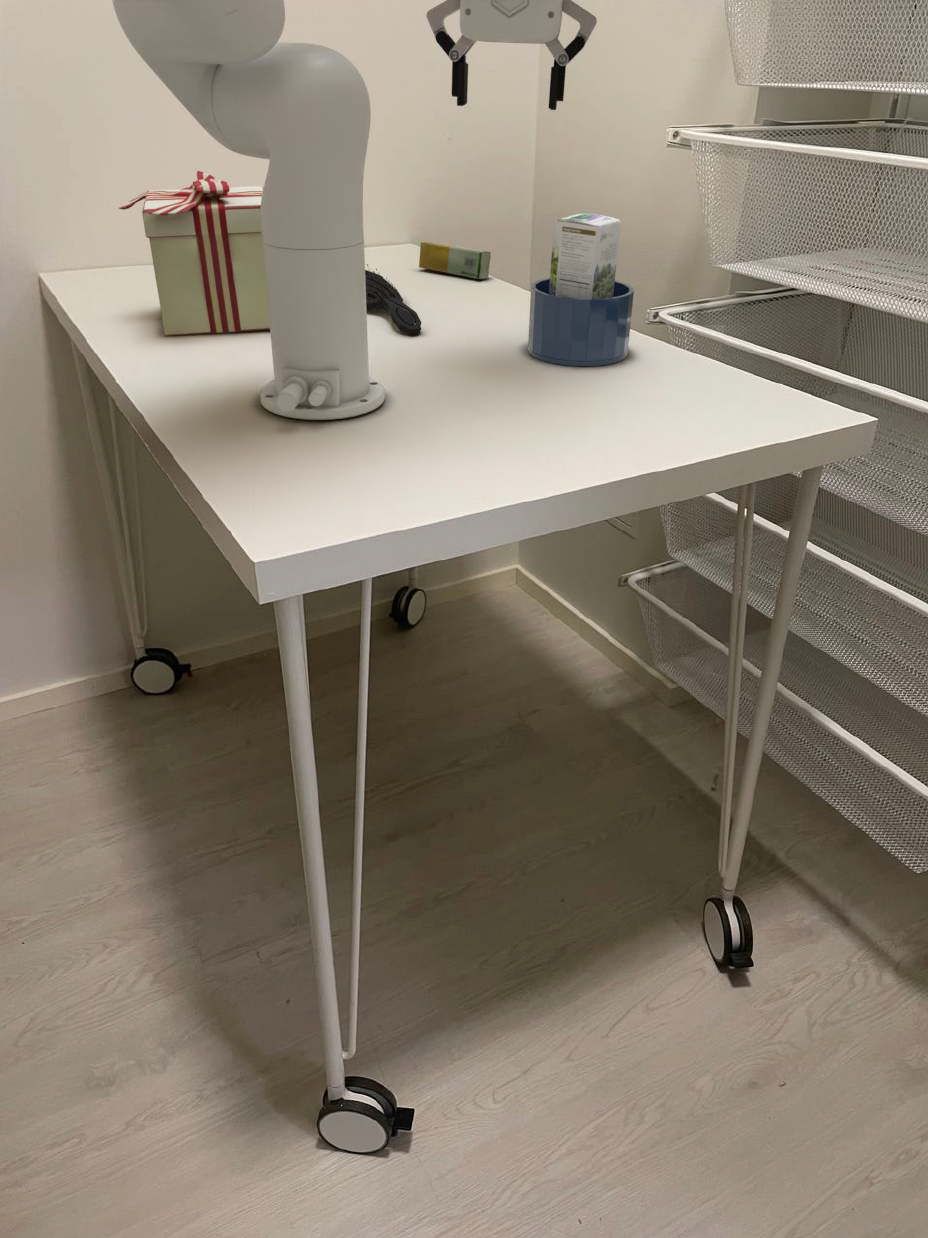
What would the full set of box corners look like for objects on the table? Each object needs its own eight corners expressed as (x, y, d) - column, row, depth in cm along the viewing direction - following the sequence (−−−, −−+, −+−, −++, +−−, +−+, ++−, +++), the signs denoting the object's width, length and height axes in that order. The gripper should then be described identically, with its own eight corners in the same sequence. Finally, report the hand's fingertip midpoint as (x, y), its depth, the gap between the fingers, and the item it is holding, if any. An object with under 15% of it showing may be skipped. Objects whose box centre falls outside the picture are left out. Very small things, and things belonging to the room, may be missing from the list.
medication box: (489, 278, 151) (492, 251, 149) (479, 280, 149) (482, 252, 147) (427, 266, 156) (429, 239, 155) (417, 267, 154) (419, 240, 153)
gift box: (134, 310, 131) (112, 169, 122) (272, 301, 136) (261, 166, 127) (140, 344, 117) (115, 188, 108) (293, 333, 122) (282, 183, 113)
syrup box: (566, 337, 120) (575, 211, 113) (610, 345, 117) (622, 216, 110) (543, 348, 116) (551, 217, 109) (588, 356, 113) (599, 223, 106)
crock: (629, 368, 112) (636, 301, 108) (525, 363, 112) (529, 297, 109) (624, 340, 122) (631, 278, 118) (530, 336, 123) (533, 274, 119)
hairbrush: (382, 315, 119) (328, 264, 138) (382, 345, 121) (329, 290, 140) (446, 310, 122) (384, 260, 141) (445, 339, 124) (384, 286, 143)
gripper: (422, -100, 92) (420, 105, 101) (606, -95, 91) (588, 112, 99) (434, -90, 99) (431, 102, 107) (606, -85, 97) (589, 109, 106)
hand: (507, 107), depth 103 cm, fingers open, 9 cm apart
